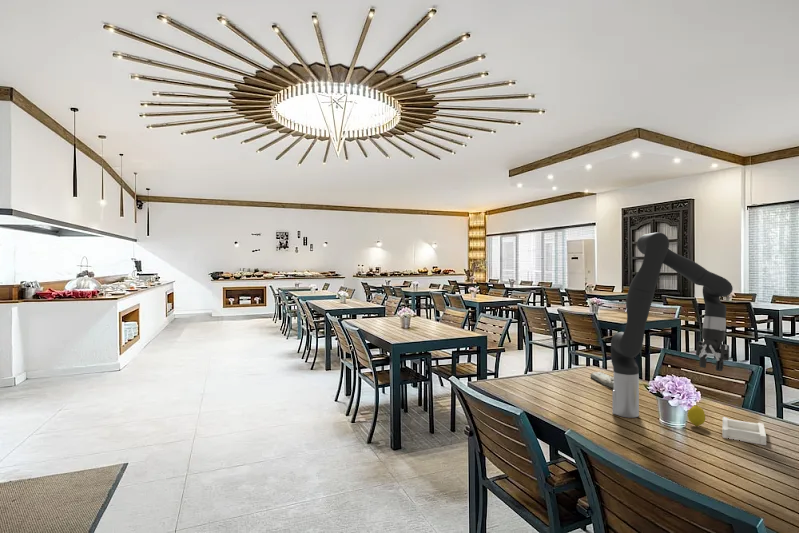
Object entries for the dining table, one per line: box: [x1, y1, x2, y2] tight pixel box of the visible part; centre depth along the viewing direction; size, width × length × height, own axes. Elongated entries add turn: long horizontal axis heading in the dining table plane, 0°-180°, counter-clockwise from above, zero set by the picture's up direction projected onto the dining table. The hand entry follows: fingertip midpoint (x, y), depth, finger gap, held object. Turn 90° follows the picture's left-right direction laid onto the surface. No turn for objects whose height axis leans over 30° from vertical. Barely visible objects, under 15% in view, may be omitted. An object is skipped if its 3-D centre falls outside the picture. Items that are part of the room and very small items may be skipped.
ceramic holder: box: [721, 416, 767, 446], centre depth 161 cm, size 12×15×3 cm
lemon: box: [687, 404, 706, 427], centre depth 169 cm, size 6×6×8 cm
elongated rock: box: [590, 371, 614, 390], centre depth 226 cm, size 35×5×10 cm
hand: (710, 369), depth 179 cm, fingers open, 8 cm apart
